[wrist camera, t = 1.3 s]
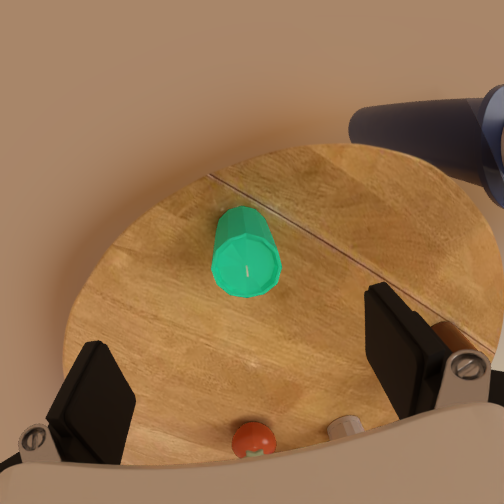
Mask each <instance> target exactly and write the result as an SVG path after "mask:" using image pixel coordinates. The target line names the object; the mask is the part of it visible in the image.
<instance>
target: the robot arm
mask: <svg viewBox="0 0 504 504" xmlns="http://www.w3.org/2000/svg"><path fill="white" fill-rule="evenodd" d="M501 156H502V162H503V166H504V128H503V131H502V136H501ZM364 301H365V350H366V356H367V359H368V361H369V363H370V365H371V367H372V369H373V370H374V372H375V374H376V376H377V378H378V380H379V381H380V383H381V385H382V387H383V389H384V391H385V393H386V394H387V396H388V398H389V400H390V402H391V404H392V406H393V408H394V410H395V412H396V413H397V415H398V417H399V419H400V420H398V421H395V422H393V423H390V424H387V425H384V426H380V427H377V428H374V429H371V430H368V431H364V432H361V433H357V434H354V435H350V436H347V437H343V438H339V439H336V440H332V441H328V442H324V443H320V444H316V445H311V446H307V447H303V448H298V449H293V450H288V451H283V452H278V453H272V454H266V455H260V456H254V457H247V458H240V459H232V460H224V461H214V462H204V463H191V464H173V465H120V463H121V459H122V455H123V451H124V447H125V442H126V438H127V435H128V431H129V427H130V423H131V419H132V415H133V412H134V408H135V404H136V398H135V395H134V393H133V391H132V389H131V388H130V386H129V384H128V383H127V381H126V379H125V377H124V376H123V374H122V372H121V370H120V368H119V367H118V365H117V363H116V361H115V359H114V357H113V356H112V354H111V352H110V350H109V348H108V346H107V345H106V344H103V342H101V341H99V340H98V341H91V342H86V343H85V344H84V346H83V348H82V350H81V351H80V353H79V355H78V357H77V359H76V360H75V362H74V364H73V366H72V368H71V369H70V371H69V373H68V375H67V377H66V379H65V381H64V383H63V384H62V386H61V388H60V390H59V392H58V394H57V396H56V398H55V400H54V402H53V404H52V406H51V408H50V410H49V412H48V414H47V416H46V419H47V421H48V422H49V425H48V427H47V426H46V425H44V424H34V425H32V426H30V427H28V428H27V429H26V430H25V431H24V432H23V433H22V434H21V436H20V438H19V441H18V447H19V451H20V452H18V453H16V454H15V455H13V456H12V457H10V458H8V459H7V460H5V461H4V462H2V463H0V504H504V372H502V371H496V370H491V363H490V361H489V359H488V358H487V357H486V356H485V355H484V354H483V353H481V352H479V351H476V350H472V349H464V350H459V351H457V352H455V353H453V352H452V351H451V350H450V349H449V348H448V346H447V345H446V344H445V343H444V342H443V341H442V340H441V338H440V337H439V336H438V335H437V334H436V333H435V332H434V330H433V329H432V328H431V327H430V326H429V325H428V324H427V323H426V321H425V320H424V319H423V318H422V317H421V316H420V315H419V314H418V313H417V312H416V311H412V310H411V309H410V308H409V307H408V306H407V305H406V304H405V302H404V301H403V300H402V299H401V298H400V297H399V296H398V295H397V294H396V293H395V292H394V290H393V289H392V288H391V287H390V286H389V285H388V284H387V283H386V282H381V283H378V284H374V285H370V286H369V289H368V291H365V293H364Z"/></svg>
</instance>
